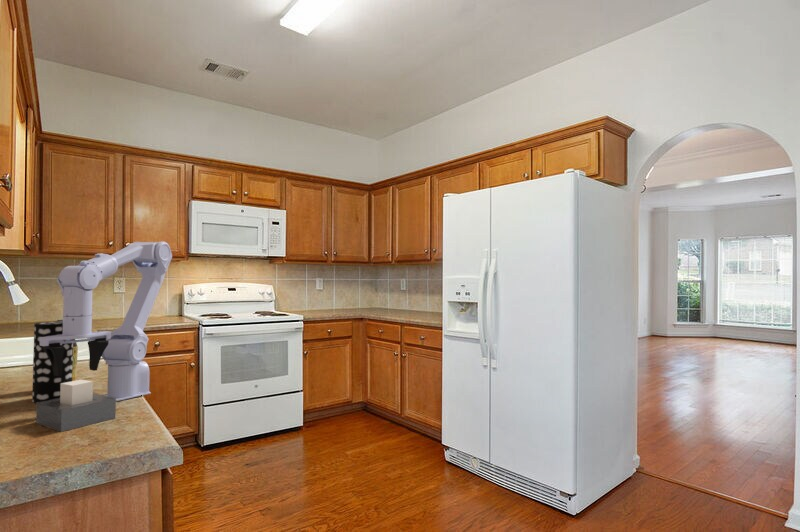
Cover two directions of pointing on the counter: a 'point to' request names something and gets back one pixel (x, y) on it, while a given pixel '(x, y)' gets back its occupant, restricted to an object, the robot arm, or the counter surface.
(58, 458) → the counter surface
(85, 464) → the counter surface
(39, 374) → the spotted tube
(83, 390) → the ivory block
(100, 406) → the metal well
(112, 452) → the counter surface
